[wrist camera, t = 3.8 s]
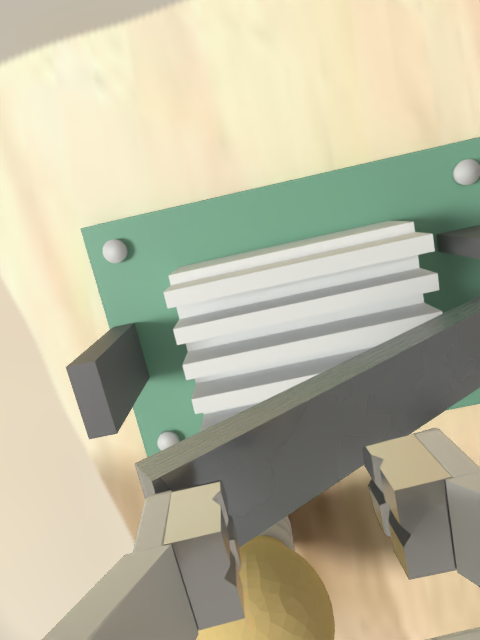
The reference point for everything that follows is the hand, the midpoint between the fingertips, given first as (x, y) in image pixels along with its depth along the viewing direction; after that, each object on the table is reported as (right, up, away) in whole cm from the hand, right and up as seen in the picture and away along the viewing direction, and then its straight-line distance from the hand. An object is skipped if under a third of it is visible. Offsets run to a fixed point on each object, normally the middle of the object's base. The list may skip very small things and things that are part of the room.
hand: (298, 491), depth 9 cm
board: (+2, +4, +16) cm, 16 cm away
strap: (+4, +2, +5) cm, 7 cm away
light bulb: (0, -9, +19) cm, 21 cm away
